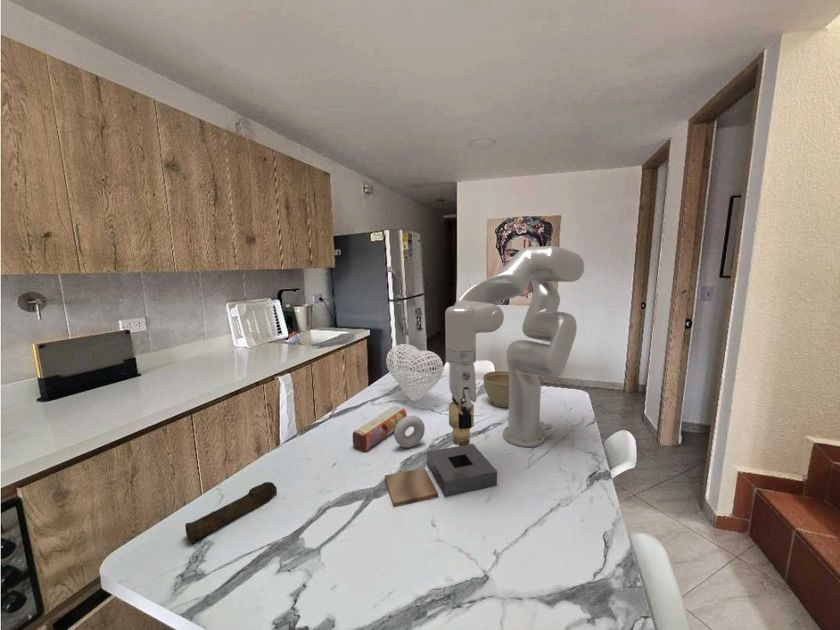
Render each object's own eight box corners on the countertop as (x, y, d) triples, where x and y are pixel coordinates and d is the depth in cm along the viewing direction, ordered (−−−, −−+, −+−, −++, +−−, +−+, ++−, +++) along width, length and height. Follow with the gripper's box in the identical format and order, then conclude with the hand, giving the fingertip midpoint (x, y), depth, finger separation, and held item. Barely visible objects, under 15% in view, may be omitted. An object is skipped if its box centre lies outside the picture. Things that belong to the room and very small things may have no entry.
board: (424, 471, 94) (424, 467, 94) (438, 497, 83) (438, 493, 83) (384, 478, 91) (384, 475, 91) (393, 506, 80) (393, 503, 80)
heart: (451, 406, 135) (450, 351, 132) (418, 417, 126) (417, 358, 123) (410, 386, 158) (409, 339, 154) (380, 394, 149) (379, 344, 145)
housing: (472, 456, 101) (473, 443, 100) (496, 485, 87) (497, 471, 87) (427, 465, 97) (426, 451, 96) (444, 497, 83) (444, 481, 83)
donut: (397, 453, 103) (396, 421, 101) (392, 447, 106) (391, 417, 104) (426, 445, 107) (426, 414, 106) (422, 440, 110) (421, 410, 109)
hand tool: (190, 548, 70) (188, 528, 69) (185, 538, 72) (183, 518, 72) (281, 501, 83) (280, 483, 83) (274, 493, 86) (273, 476, 85)
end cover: (469, 434, 94) (469, 399, 93) (476, 446, 88) (476, 409, 86) (446, 436, 94) (446, 401, 92) (452, 449, 87) (451, 411, 86)
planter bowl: (503, 392, 149) (503, 368, 147) (533, 405, 135) (534, 378, 134) (474, 400, 140) (474, 375, 139) (503, 415, 127) (504, 387, 125)
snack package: (366, 454, 103) (366, 433, 102) (350, 448, 106) (349, 427, 105) (407, 425, 120) (407, 407, 119) (392, 421, 124) (392, 403, 123)
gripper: (486, 364, 79) (486, 437, 82) (466, 345, 96) (466, 406, 99) (454, 366, 78) (455, 440, 81) (439, 347, 95) (440, 408, 98)
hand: (461, 421), depth 90 cm, fingers closed on end cover, 6 cm apart
